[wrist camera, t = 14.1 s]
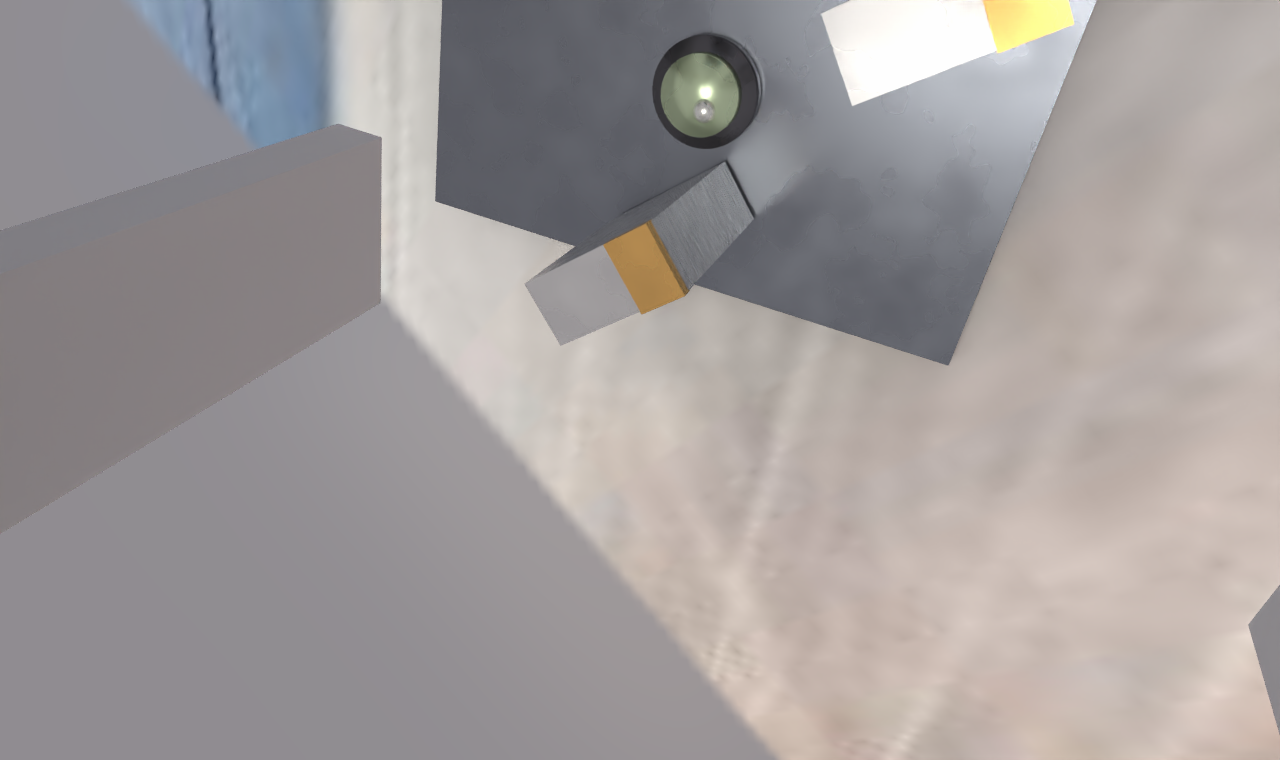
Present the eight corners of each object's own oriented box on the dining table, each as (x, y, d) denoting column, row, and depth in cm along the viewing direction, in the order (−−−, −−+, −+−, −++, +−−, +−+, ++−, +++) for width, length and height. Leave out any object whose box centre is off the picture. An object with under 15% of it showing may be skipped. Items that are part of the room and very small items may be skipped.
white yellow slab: (868, -11, 37) (817, 13, 29) (1044, -91, 34) (1045, -90, 25) (892, 64, 38) (850, 110, 30) (1065, -5, 35) (1074, 24, 26)
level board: (463, -204, 41) (425, -211, 39) (1126, -80, 34) (1133, -79, 32) (446, 195, 52) (416, 210, 49) (950, 355, 45) (944, 382, 42)
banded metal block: (613, 217, 47) (518, 286, 38) (724, 160, 43) (645, 223, 34) (643, 270, 47) (556, 351, 39) (754, 219, 44) (684, 296, 35)
